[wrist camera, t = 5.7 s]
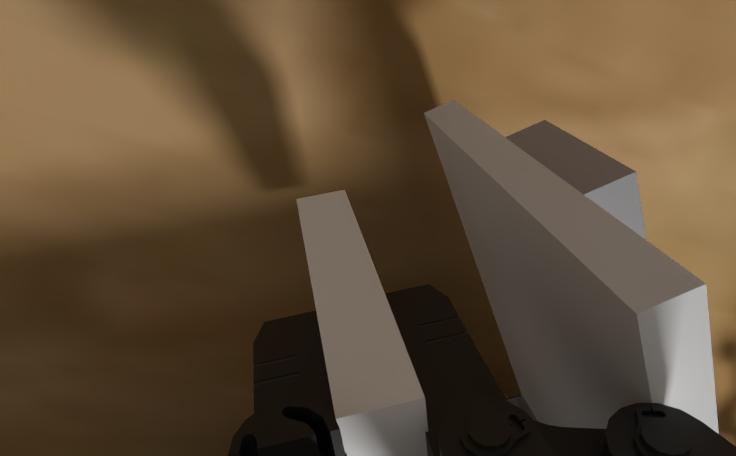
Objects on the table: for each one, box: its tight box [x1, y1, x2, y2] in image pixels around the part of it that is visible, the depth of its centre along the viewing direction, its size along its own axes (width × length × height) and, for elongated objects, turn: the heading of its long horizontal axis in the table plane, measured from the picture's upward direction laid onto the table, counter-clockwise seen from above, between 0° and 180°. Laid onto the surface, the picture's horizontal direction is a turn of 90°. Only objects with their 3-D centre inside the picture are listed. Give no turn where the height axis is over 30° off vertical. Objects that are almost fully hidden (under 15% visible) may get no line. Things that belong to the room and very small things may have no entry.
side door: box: [424, 100, 719, 434], centre depth 12 cm, size 12×2×8 cm, turn 22°
